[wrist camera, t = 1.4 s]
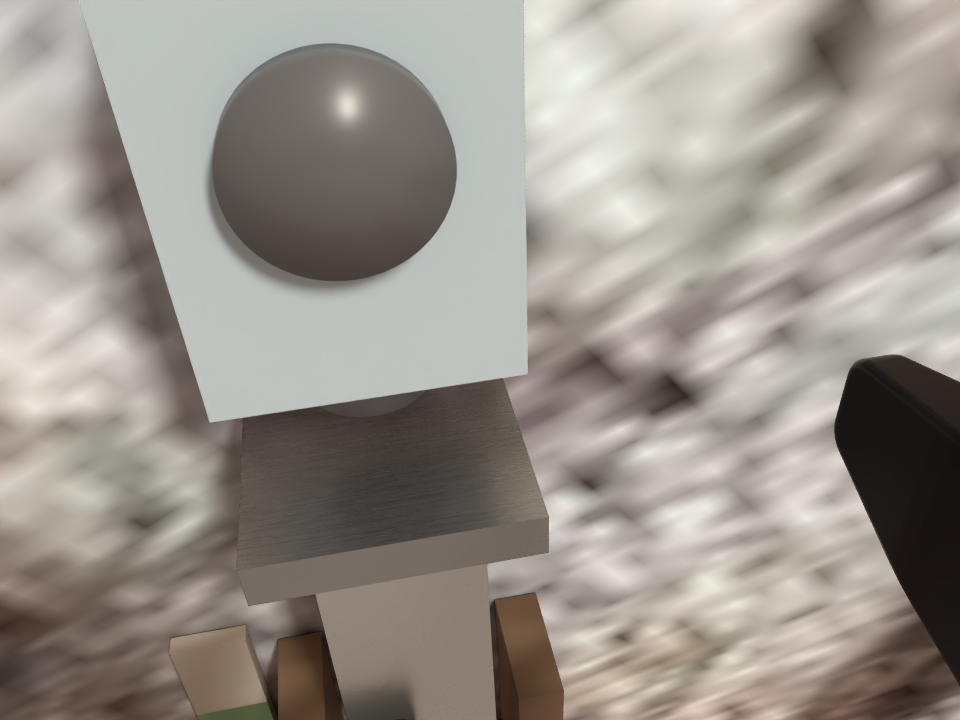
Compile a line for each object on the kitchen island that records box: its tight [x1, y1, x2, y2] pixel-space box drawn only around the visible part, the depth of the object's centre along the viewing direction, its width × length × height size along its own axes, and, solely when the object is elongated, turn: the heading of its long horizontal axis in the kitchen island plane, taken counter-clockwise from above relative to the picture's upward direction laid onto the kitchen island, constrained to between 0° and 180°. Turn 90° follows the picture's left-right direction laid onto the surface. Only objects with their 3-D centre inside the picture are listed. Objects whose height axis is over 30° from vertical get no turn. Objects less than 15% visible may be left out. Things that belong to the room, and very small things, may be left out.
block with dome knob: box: [79, 0, 528, 423], centre depth 14 cm, size 5×8×6 cm, turn 3°
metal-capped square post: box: [237, 378, 549, 720], centre depth 20 cm, size 7×10×5 cm
